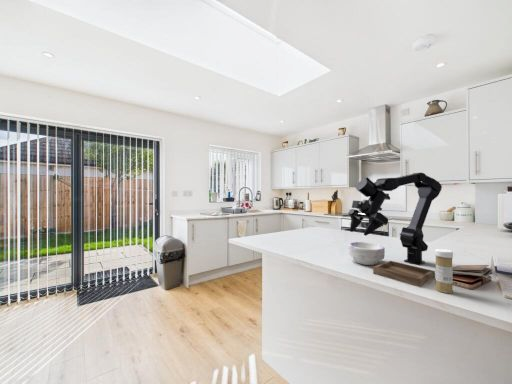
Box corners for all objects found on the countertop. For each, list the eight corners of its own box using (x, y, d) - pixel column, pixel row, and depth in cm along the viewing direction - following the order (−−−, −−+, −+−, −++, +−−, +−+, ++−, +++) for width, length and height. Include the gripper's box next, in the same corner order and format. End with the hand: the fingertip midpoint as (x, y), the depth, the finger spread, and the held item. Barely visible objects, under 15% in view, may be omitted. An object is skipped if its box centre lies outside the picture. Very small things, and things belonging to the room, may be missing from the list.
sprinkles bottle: (450, 289, 78) (450, 249, 78) (454, 295, 74) (454, 252, 74) (433, 287, 80) (433, 247, 80) (436, 292, 76) (436, 250, 76)
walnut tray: (390, 266, 101) (390, 260, 101) (434, 278, 88) (434, 271, 88) (373, 273, 93) (373, 266, 93) (419, 286, 80) (419, 279, 80)
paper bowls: (389, 268, 99) (389, 249, 99) (351, 266, 102) (351, 248, 102) (378, 258, 114) (378, 242, 114) (345, 256, 117) (345, 240, 117)
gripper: (348, 192, 110) (331, 220, 108) (377, 192, 92) (358, 226, 90) (364, 205, 112) (349, 233, 110) (396, 208, 94) (378, 241, 92)
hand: (357, 233), depth 101 cm, fingers open, 9 cm apart
